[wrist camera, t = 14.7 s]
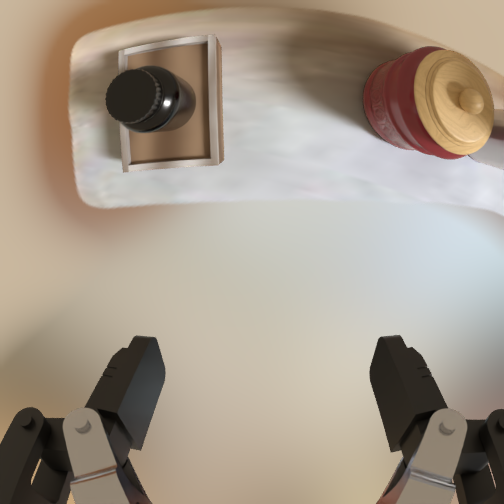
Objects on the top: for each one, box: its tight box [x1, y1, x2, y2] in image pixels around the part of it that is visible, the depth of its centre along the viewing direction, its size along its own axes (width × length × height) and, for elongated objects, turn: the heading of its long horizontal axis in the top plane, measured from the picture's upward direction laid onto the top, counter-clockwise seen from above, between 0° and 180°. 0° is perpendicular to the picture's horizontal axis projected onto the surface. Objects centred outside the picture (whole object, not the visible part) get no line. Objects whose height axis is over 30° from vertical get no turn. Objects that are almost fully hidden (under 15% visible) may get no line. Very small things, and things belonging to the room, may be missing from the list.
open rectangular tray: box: [118, 34, 224, 172], centre depth 33 cm, size 12×16×6 cm
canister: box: [363, 46, 494, 159], centre depth 26 cm, size 13×13×18 cm
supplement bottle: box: [106, 65, 196, 133], centre depth 25 cm, size 7×7×12 cm
